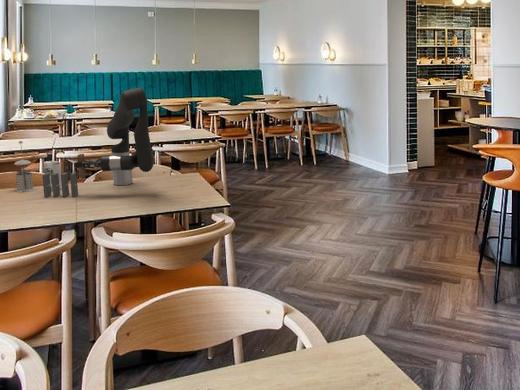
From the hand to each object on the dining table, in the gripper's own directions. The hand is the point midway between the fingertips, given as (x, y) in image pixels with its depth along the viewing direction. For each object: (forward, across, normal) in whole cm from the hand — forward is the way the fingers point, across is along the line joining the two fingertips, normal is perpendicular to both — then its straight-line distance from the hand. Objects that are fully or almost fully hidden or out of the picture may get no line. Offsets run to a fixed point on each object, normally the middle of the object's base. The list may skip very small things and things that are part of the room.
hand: (76, 163), depth 268 cm
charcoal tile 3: (+6, 0, +16) cm, 17 cm away
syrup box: (+17, -16, +16) cm, 28 cm away
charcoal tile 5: (+15, 0, +16) cm, 21 cm away
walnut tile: (-3, 0, +6) cm, 7 cm away
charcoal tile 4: (+10, 0, +16) cm, 19 cm away
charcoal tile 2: (+2, 0, +16) cm, 16 cm away
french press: (+31, -17, +16) cm, 39 cm away
